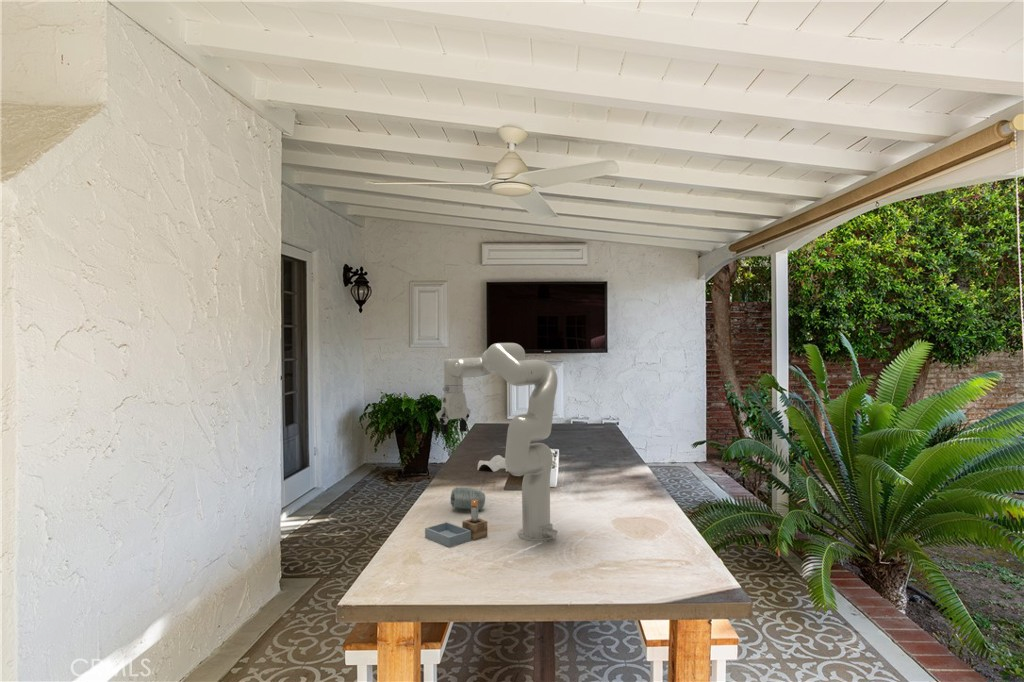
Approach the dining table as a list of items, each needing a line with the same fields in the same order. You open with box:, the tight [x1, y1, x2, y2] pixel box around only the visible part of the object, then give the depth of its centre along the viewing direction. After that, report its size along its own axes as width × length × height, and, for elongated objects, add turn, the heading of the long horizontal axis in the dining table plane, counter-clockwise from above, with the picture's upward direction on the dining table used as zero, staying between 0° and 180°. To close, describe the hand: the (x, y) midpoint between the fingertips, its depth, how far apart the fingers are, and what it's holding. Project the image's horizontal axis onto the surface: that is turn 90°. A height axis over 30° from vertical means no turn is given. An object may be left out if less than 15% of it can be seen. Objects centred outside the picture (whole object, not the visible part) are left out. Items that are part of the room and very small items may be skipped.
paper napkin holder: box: [477, 454, 509, 473], centre depth 283 cm, size 25×19×10 cm
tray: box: [424, 521, 472, 548], centre depth 189 cm, size 13×9×3 cm
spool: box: [450, 486, 486, 512], centre depth 220 cm, size 14×10×10 cm
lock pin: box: [470, 500, 479, 523], centre depth 191 cm, size 2×2×10 cm
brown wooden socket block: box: [461, 517, 488, 541], centre depth 191 cm, size 6×6×5 cm
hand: (454, 432), depth 223 cm, fingers open, 9 cm apart
